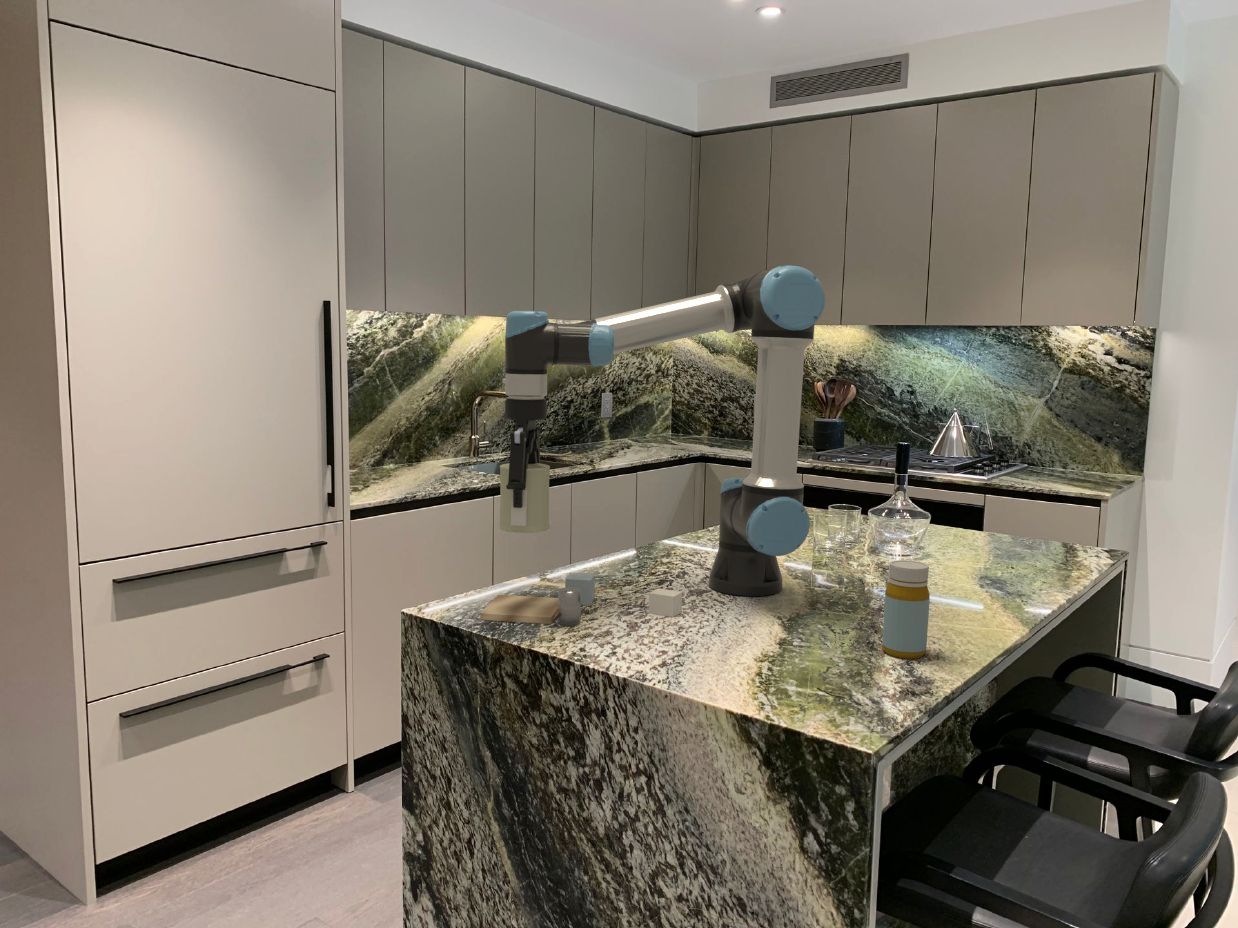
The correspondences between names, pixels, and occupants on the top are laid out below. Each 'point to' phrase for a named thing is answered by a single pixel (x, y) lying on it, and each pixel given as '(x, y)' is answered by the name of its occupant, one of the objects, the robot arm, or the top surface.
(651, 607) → the block white
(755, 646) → the top surface
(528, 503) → the can
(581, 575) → the block gray
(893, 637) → the bottle
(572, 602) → the tin
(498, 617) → the board
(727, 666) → the top surface
